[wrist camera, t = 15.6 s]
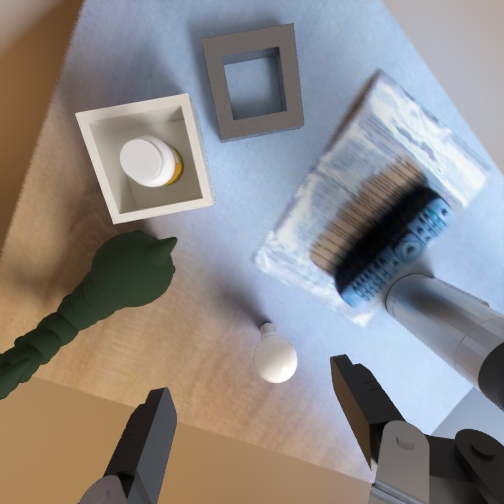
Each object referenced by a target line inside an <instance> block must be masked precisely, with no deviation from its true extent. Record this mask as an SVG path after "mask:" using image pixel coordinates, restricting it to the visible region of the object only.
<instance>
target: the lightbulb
mask: <svg viewBox="0 0 504 504" xmlns="http://www.w3.org/2000/svg"><path fill="white" fill-rule="evenodd" d="M260 332H261V337H262V338H261V341H260V342H259V343H258V345H257V346H256V348H255V351H254V357H253V360H254V366H255V368H256V370H257V372H258V374H259V375H260V376H261V377H262V378H263V379H265V380H266V381H268V382H271V383H281V382H284V381H286V380H288V379H289V378H290V377H291V376H292V375H293V374H294V372H295V370H296V368H297V362H298V358H297V353H296V350H295V348H294V346H293V345H292V343H291V342H290V341H289V340H287V339H286V338H284V337H282V336H279V334H278V333H277V331H276V328H275V326H274V325H273V324H272V323H265V324H264V325H262V327H261V329H260Z"/></svg>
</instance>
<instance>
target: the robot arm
mask: <svg viewBox="0 0 504 504" xmlns="http://www.w3.org/2000/svg"><path fill="white" fill-rule="evenodd" d="M386 306H387V310H388V312H389V314H390V315H391V316H392V317H393V318H394V319H396V320H397V321H398V322H399V323H400V324H401V325H403V326H404V327H405V328H406V329H407V330H408V331H410V332H411V333H412V334H413V335H414V336H415V337H417V338H418V339H419V340H420V341H421V342H422V343H424V344H425V345H426V346H427V347H428V348H429V349H431V350H432V351H433V352H434V353H435V354H437V355H438V356H439V357H440V358H441V359H442V360H444V361H445V362H446V363H447V364H448V365H449V366H451V367H452V368H453V369H454V370H455V371H456V372H458V373H459V374H460V375H461V376H462V377H464V378H465V379H466V380H467V381H468V382H470V383H471V384H472V385H473V386H474V387H475V388H477V389H478V390H479V391H480V392H481V393H482V394H484V395H485V396H486V397H487V398H488V399H490V400H491V401H492V402H493V403H494V404H496V405H497V406H498V407H499V408H500V409H501V410H502V411H504V315H503V314H501V313H499V312H497V311H495V310H493V309H491V308H489V304H488V303H487V302H485V301H483V300H481V299H479V298H477V297H475V296H473V295H471V294H469V293H467V292H465V291H463V290H461V289H458V288H456V287H454V286H452V285H450V284H448V283H446V282H444V281H442V280H440V279H438V278H436V277H435V278H429V277H427V276H425V275H421V274H412V275H408V276H405V277H403V278H402V279H400V280H398V281H397V282H396V283H395V284H394V285H393V286H392V288H391V289H390V291H389V293H388V295H387V299H386ZM330 364H331V374H332V383H333V387H334V391H335V394H336V396H337V399H338V401H339V403H340V405H341V407H342V409H343V411H344V414H345V416H346V418H347V420H348V422H349V424H350V426H351V429H352V431H353V433H354V435H355V437H356V439H357V441H358V444H359V446H360V448H361V450H362V452H363V454H364V456H365V459H366V461H367V463H368V465H369V467H370V469H371V471H376V470H377V472H376V478H375V482H374V484H372V486H371V490H370V496H369V501H368V504H504V446H503V445H502V444H501V443H500V442H498V441H497V440H496V439H494V438H493V437H491V436H489V435H487V434H485V433H483V432H481V431H478V430H473V429H463V430H460V431H459V432H458V433H457V434H456V436H455V439H448V438H441V437H434V436H429V435H426V434H424V433H422V432H421V431H420V430H419V429H418V428H417V427H415V426H414V425H412V424H410V423H408V422H406V420H405V419H404V418H403V417H402V415H401V414H400V412H399V411H398V409H397V408H396V407H395V405H394V404H393V402H392V401H391V400H390V398H389V397H388V395H387V394H386V393H385V391H384V390H383V389H382V387H381V385H380V384H379V383H378V382H377V380H376V378H375V377H374V376H373V374H372V373H371V371H370V370H369V369H367V368H366V367H364V366H363V365H362V364H360V363H359V364H354V365H353V364H352V362H351V361H350V359H349V358H348V356H347V355H346V354H343V355H338V356H333V357H330ZM176 424H177V414H176V410H175V407H174V403H173V400H172V397H171V394H170V391H169V389H168V388H167V387H165V388H160V389H155V390H151V391H150V392H149V394H148V397H147V399H146V402H145V404H140V405H139V406H138V407H137V408H136V410H135V411H134V412H133V413H132V414H131V416H130V418H129V420H128V423H127V425H126V429H124V431H123V434H122V436H121V439H120V440H119V442H118V445H117V447H116V449H115V451H114V454H113V456H112V458H111V460H110V462H109V465H108V467H107V469H106V471H105V473H104V475H103V477H102V478H101V479H99V480H98V481H96V482H95V483H94V484H93V485H92V486H91V487H90V488H89V489H88V490H87V491H86V492H85V494H84V495H83V496H82V498H81V500H80V502H79V503H78V504H157V502H158V498H159V494H160V490H161V486H162V482H163V478H164V474H165V469H166V465H167V461H168V457H169V453H170V449H171V445H172V441H173V437H174V433H175V429H176Z"/></svg>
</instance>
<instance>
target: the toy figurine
mask: <svg viewBox="0 0 504 504" xmlns="http://www.w3.org/2000/svg"><path fill="white" fill-rule="evenodd" d="M176 243H177V238H176V237H170V238H166V239H162V240H157V239H155V238H154V237H152V236H149V235H147V234H144V233H143V232H142V231H140V230H136V231H134V232H130V233H124V234H120V235H117V236H115V237H113V238H111V239H110V240H108V241H107V242H106V243H104V244H103V245H102V246H101V247H100V249H99V250H98V251H97V253H96V254H95V256H94V258H93V262H92V266H91V271H90V272H89V273H88V274H87V275H86V276H85V278H84V280H83V282H81V283H80V284H79V285H78V286H77V287H76V288H75V289H74V291H73V293H72V294H69V295H67V296H65V297H64V298H63V300H62V303H61V304H60V305H59V307H58V309H57V312H54V313H51V314H50V315H48V316H46V317H45V318H43V319H42V320H41V321H40V323H39V324H38V325H37V328H36V329H34V330H32V331H30V332H28V333H26V334H25V335H24V336H20V337H18V338H17V339H16V340H15V342H14V345H15V347H13V348H11V349H9V350H7V351H6V352H4V353H2V354H0V400H1V399H4V398H6V397H7V396H8V395H9V393H10V392H12V391H13V390H14V389H15V388H16V387H17V386H18V384H19V383H24V382H27V381H28V380H29V379H30V378H31V376H32V374H34V373H35V372H36V371H37V369H38V368H39V366H40V365H44V364H47V363H48V362H49V361H50V359H51V358H52V357H53V356H54V355H55V354H56V353H57V352H58V350H59V349H60V347H61V346H64V345H67V344H68V343H70V342H71V341H72V340H73V339H74V338H75V337H76V336H77V334H78V332H79V331H80V330H84V329H86V328H88V327H90V326H91V325H93V324H95V323H96V322H97V321H99V320H103V319H106V318H107V317H109V316H110V315H112V314H113V313H114V312H115V311H116V310H120V309H122V308H125V307H138V306H143V305H146V304H148V303H151V302H153V301H154V300H156V299H157V298H159V297H160V296H161V295H162V294H164V292H165V291H166V290H167V289H168V287H169V285H170V283H171V280H172V277H173V274H174V272H175V266H174V265H173V261H172V258H171V255H170V253H171V252H172V250H173V248H174V246H175V245H176Z"/></svg>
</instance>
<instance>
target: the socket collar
mask: <svg viewBox="0 0 504 504" xmlns="http://www.w3.org/2000/svg"><path fill="white" fill-rule="evenodd" d="M201 40H202V45H203V50H204V56H205V61H206V66H207V71H208V76H209V81H210V86H211V91H212V96H213V101H214V106H215V111H216V116H217V121H218V126H219V131H220V136H221V141H222V143H223V142H229V141H234V140H240V139H245V138H251V137H256V136H261V135H267V134H272V133H278V132H283V131H289V130H294V129H299V128H301V127H302V126H304V118H303V108H302V99H301V89H300V80H299V70H298V61H297V52H296V42H295V33H294V23H292V24H286V25H280V26H274V27H268V28H262V29H256V30H250V31H244V32H239V33H233V34H227V35H221V36H215V37H209V38H203V39H201ZM272 56H276V63H277V71H278V78H279V86H280V94H281V102H282V110H283V112H278V113H272V114H267V115H261V116H256V117H250V118H244V119H239V120H233V115H232V109H231V104H230V99H229V93H228V88H227V82H226V77H225V71H224V66H223V65H226V64H231V63H237V62H243V61H249V60H254V59H260V58H266V57H272Z"/></svg>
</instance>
